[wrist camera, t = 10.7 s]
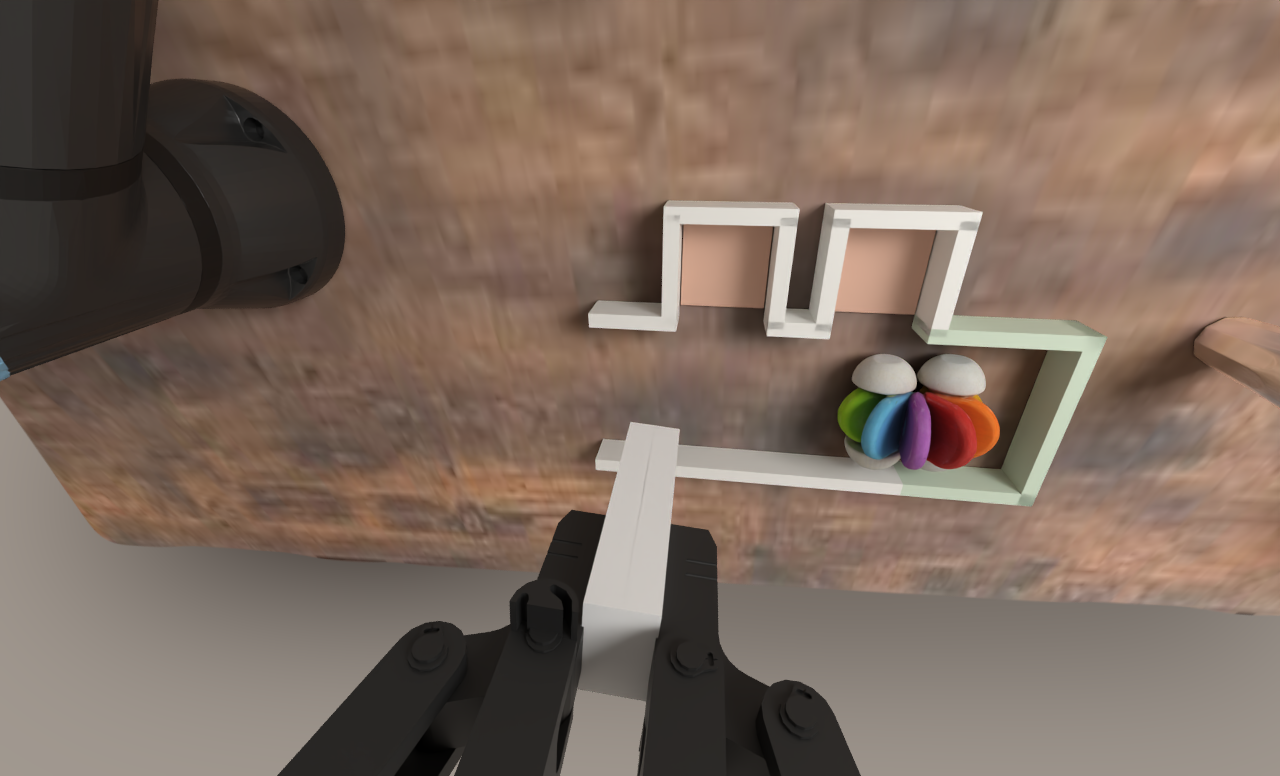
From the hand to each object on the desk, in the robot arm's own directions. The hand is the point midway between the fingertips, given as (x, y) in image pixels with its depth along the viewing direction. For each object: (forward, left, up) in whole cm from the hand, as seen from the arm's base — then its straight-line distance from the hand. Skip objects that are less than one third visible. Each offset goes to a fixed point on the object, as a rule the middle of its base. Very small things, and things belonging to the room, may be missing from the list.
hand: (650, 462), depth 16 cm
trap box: (+9, -5, -22) cm, 25 cm away
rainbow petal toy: (+16, -9, -23) cm, 29 cm away
